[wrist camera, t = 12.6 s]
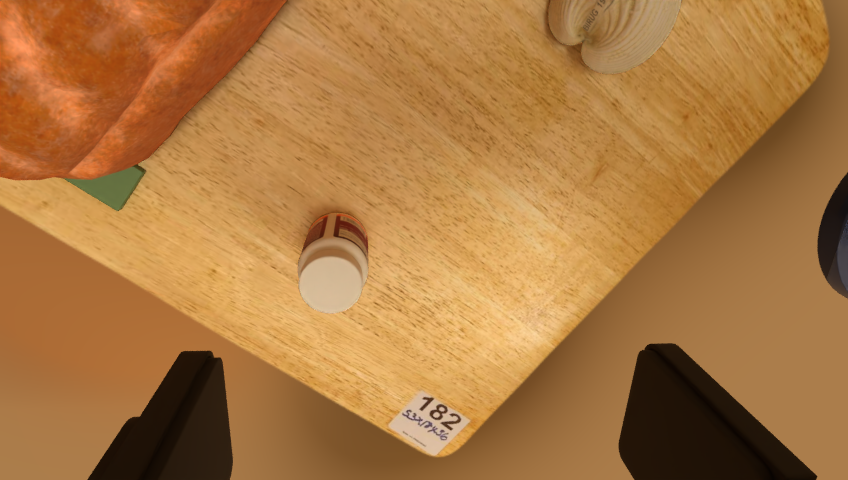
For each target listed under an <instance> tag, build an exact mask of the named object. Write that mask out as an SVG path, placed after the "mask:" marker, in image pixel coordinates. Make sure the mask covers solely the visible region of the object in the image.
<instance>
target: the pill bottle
mask: <svg viewBox="0 0 848 480" xmlns="http://www.w3.org/2000/svg"><path fill="white" fill-rule="evenodd" d="M298 276H299V291H300V294H301V296H302V298H303V300H304V301H305V302H306V303H307V304H308V305H309V306H310V307H311V308H313V309H315V310H317V311H319V312H323V313H339V312H342V311H345V310H347V309H349V308H350V307H352V306H353V305H354V304H355V303H356V302H357V300H358V299H359V297H360V295H361V293H362V288H363V286H364V285H365V283H366V281H367V277H368V237H367V233H366V231H365V229H364V227H363V226H362V224H361V223H360V222H359V221H358V220H357V219H355V218H354V217H352V216H350V215H348V214H344V213H330V214H326V215H324V216H322V217H320V218H319V219H317V220H316V221H315V222H314V223H313V224H312V226H311V227H310V229H309V232H308V234H307V237H306V240H305V243H304V247H303V249H302V253H301V256H300V258H299V262H298Z"/></svg>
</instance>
